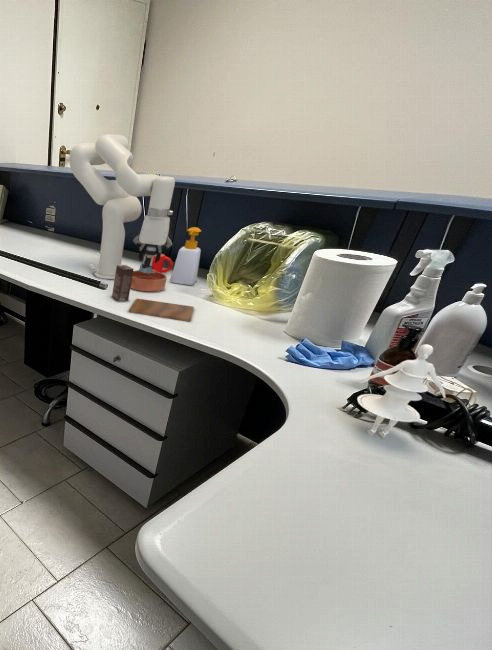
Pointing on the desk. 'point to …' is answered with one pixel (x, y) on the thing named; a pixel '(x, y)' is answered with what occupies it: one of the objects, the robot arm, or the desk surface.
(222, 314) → the desk surface
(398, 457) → the desk surface
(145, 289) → the bowl
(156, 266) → the mug
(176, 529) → the desk surface
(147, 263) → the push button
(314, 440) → the desk surface
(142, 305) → the cork mat
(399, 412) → the figurine
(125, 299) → the box
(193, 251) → the soap bottle
